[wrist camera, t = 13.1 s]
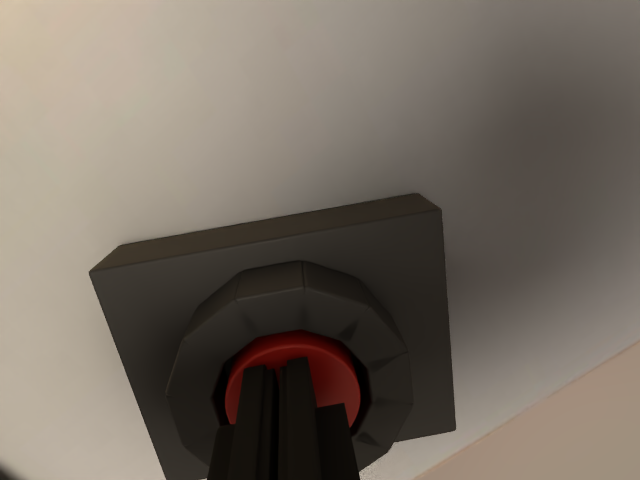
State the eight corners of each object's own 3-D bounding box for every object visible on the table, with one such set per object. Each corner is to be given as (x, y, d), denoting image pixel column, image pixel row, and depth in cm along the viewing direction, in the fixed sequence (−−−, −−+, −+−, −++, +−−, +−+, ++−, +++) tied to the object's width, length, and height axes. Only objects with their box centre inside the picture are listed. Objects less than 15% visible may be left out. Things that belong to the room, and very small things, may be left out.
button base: (418, 192, 14) (470, 226, 10) (435, 389, 16) (480, 476, 12) (117, 245, 13) (50, 301, 10) (183, 436, 16) (151, 540, 12)
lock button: (342, 301, 12) (351, 333, 10) (358, 401, 13) (368, 444, 11) (220, 323, 12) (209, 359, 10) (246, 422, 13) (241, 468, 11)
